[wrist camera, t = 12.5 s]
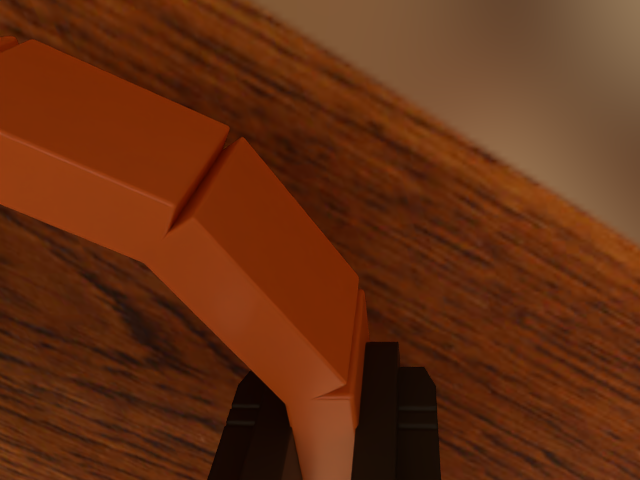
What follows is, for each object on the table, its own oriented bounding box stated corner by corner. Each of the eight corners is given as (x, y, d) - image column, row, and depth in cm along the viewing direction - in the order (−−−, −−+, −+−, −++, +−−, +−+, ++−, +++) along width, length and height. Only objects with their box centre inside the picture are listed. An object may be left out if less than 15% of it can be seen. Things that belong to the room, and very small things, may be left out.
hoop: (-62, 524, 19) (-132, 622, 17) (-400, 79, 12) (-624, 135, 9) (390, 547, 17) (388, 667, 14) (335, 0, 9) (309, 48, 7)
